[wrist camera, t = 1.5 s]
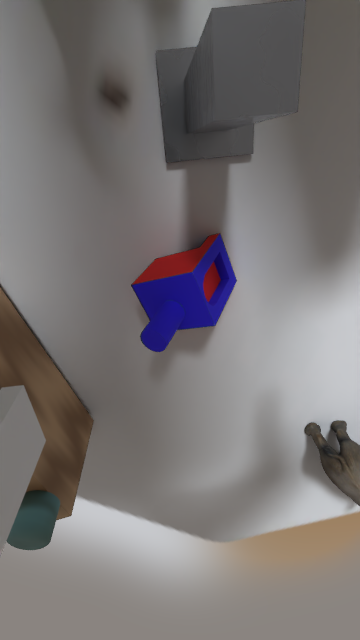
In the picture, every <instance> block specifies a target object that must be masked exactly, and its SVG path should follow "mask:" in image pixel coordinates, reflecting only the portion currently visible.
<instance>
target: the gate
mask: <svg viewBox="0 0 360 640" xmlns="http://www.w3.org/2000/svg"><path fill="white" fill-rule="evenodd" d="M21 385H24V387H25V390H26V392H27V395H28V397H29V400H30V402H31V405H32V407H33V410H34V412H35V414H36V417H37V419H38V422H39V424H40V427H41V429H42V432H43V434H44V437H45V439H46V442H45V444H44V447H43V449H42V452H41V454H40V457H39V460H38V462H37V465H36V467H35V470H34V472H33V475H32V477H31V480H30V482H29V485H28V487H27V490H26V493H25V495H24V498H23V500H22V503H21V505H20V508H19V510H18V513H17V515H16V518H15V521H14V523H13V526H12V528H11V531H10V533H9V536H8V538H7V542H8V543H9V544H10V545H12V546H14V547H16V548H19V549H23V550H36V549H41V548H43V547H45V546H47V545H48V544H49V543H50V540H51V537H52V533H53V529H54V526H55V522H56V520H59V519H62V518H65V517H69V516H71V515H72V510H73V506H74V502H75V498H76V493H77V489H78V485H79V481H80V476H81V472H82V468H83V464H84V459H85V455H86V451H87V447H88V442H89V438H90V434H91V430H92V425H93V419H92V418H91V416H90V415H89V413H88V412H87V411H86V409H85V408H84V406H83V405H82V403H81V402H80V401H79V399H78V398H77V396H76V395H75V393H74V392H73V391H72V389H71V388H70V386H69V385H68V383H67V382H66V381H65V379H64V378H63V376H62V375H61V373H60V372H59V371H58V369H57V368H56V366H55V365H54V363H53V362H52V361H51V359H50V358H49V356H48V355H47V354H46V352H45V351H44V349H43V348H42V346H41V345H40V344H39V342H38V341H37V339H36V338H35V336H34V335H33V334H32V332H31V331H30V329H29V328H28V326H27V325H26V324H25V322H24V321H23V319H22V318H21V316H20V315H19V314H18V312H17V311H16V309H15V308H14V306H13V305H12V304H11V302H10V301H9V299H8V298H7V296H6V295H5V294H4V292H3V291H2V289H1V288H0V390H1V388H2V387H11V386H21Z"/></svg>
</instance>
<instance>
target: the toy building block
mask: <svg viewBox="0 0 360 640" xmlns="http://www.w3.org/2000/svg"><path fill="white" fill-rule="evenodd" d="M236 281H237V280H236V277H235V274H234V271H233V269H232V266H231V263H230V260H229V257H228V254H227V252H226V249H225V246H224V243H223V240H222V237H221V235H220V233H218V234H215V235H211V236H208V237H207V239H206V240H205V241H204V243H203V244H202V245H201V247H200V248H196V249H192V250H188V251H184V252H180V253H176V254H173V255H169V256H165V257H161V258H157V259H155V260H154V261H153V262H152V263H151V265H150V266H149V267H148V268H147V269H146V270H145V271H144V272H143V273H142V274H141V275H140V276H139V277H138V278H137V279H136V280H135V281H134V282H133V284H132V285H131V286H132V288H133V290H134V292H135V293H136V295H137V297H138V299H139V301H140V303H141V305H142V307H143V308H144V310H145V312H146V314H147V316H148V318H149V320H150V322H149V323H148V325H147V326H146V327H145V329H144V330H143V331H142V333H141V336H140V337H141V341H142V343H143V344H144V345H145V346H146V347H147V348H148V349H150V350H152V351H155V352H161V351H163V350H164V349H165V348H166V347H167V345H168V344H169V342H170V340H171V339H172V337H173V336H174V334H175V332H176V331H177V330H182V329H191V328H201V327H210V326H215V325H216V323H217V321H218V319H219V317H220V314H221V312H222V310H223V308H224V306H225V304H226V302H227V300H228V298H229V296H230V294H231V292H232V290H233V288H234V285H235V283H236Z"/></svg>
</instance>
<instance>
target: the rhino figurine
mask: <svg viewBox="0 0 360 640" xmlns="http://www.w3.org/2000/svg"><path fill="white" fill-rule="evenodd" d="M346 426H347V423H346V422H345V421H335V422H333V423H332V425H331V427H332V429H333V430H334V432H335V433H336V436H337V439H338V442H339V444H340V454H338V453H337V452H336V451H335V450H334V449H333V448H332V447H331V446H330V445H329V444H328V443H327V442H326V440H325V438H324V437H323V436H322V434H321V429H320V426H319V425H317V424H316V423H310V424H309V425H307V427H306V428H305V433H306V434H307V435H311V436H312V437H313V440H314V442H315V444H316V446H317V448H318V449H319V453H320V459H321V463H322V466H323V469H324V471H325V473H326V474H327V476H328V477H329V478H330V479H331V481H332V482H333V483H334V484H335V485H336V486H337V487H338V488H339V489H340V490H341V491H342V492H343V493H345V494H346V495H347V496H349V497H350V498H351V499H352V500H353V501H354V502H355V503H356V504H358V505H359V506H360V445H358V444H357V443H356V442H354V441H352V440H351V439H350V438H349V436H348V434H347V432H346V429H347V427H346Z"/></svg>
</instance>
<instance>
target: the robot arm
mask: <svg viewBox="0 0 360 640" xmlns="http://www.w3.org/2000/svg"><path fill="white" fill-rule="evenodd" d="M45 442H46V439H45V437H44V434H43V432H42V429H41V427H40V424H39V422H38V419H37V417H36V414H35V412H34V410H33V407H32V405H31V402H30V400H29V397H28V395H27V392H26V390H25V387H24V385H21V386H11V387H2V388H1V390H0V556H1V554H2V551H3V548H4V546H5V543H6V541H7V538H8V536H9V533H10V531H11V528H12V526H13V523H14V521H15V518H16V515H17V513H18V510H19V508H20V505H21V503H22V500H23V498H24V495H25V493H26V490H27V487H28V485H29V482H30V480H31V477H32V475H33V472H34V470H35V467H36V465H37V462H38V460H39V457H40V454H41V452H42V449H43V447H44V444H45Z"/></svg>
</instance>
